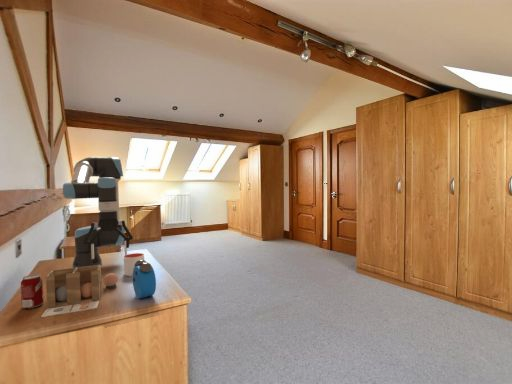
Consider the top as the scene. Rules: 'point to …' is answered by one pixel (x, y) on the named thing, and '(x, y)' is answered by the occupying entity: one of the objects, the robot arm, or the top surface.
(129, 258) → the cup
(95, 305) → the card
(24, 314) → the top surface
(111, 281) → the terra ball
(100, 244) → the robot arm
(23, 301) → the soda can
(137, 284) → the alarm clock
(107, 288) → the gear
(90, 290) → the terracotta ball
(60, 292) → the ball grey
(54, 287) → the box
